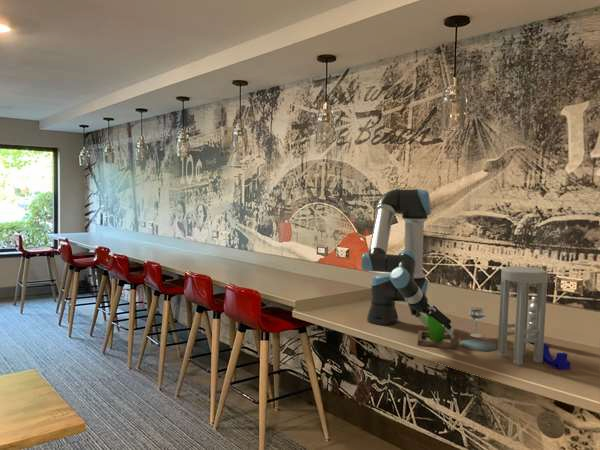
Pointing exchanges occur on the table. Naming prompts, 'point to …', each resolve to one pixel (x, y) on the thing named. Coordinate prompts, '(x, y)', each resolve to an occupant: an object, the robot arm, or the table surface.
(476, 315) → the wineglass
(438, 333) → the cup
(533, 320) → the plastic bottle
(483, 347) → the mat
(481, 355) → the table surface
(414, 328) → the table surface
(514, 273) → the stool
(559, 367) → the cable clip
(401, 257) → the robot arm
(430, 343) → the cup holder
